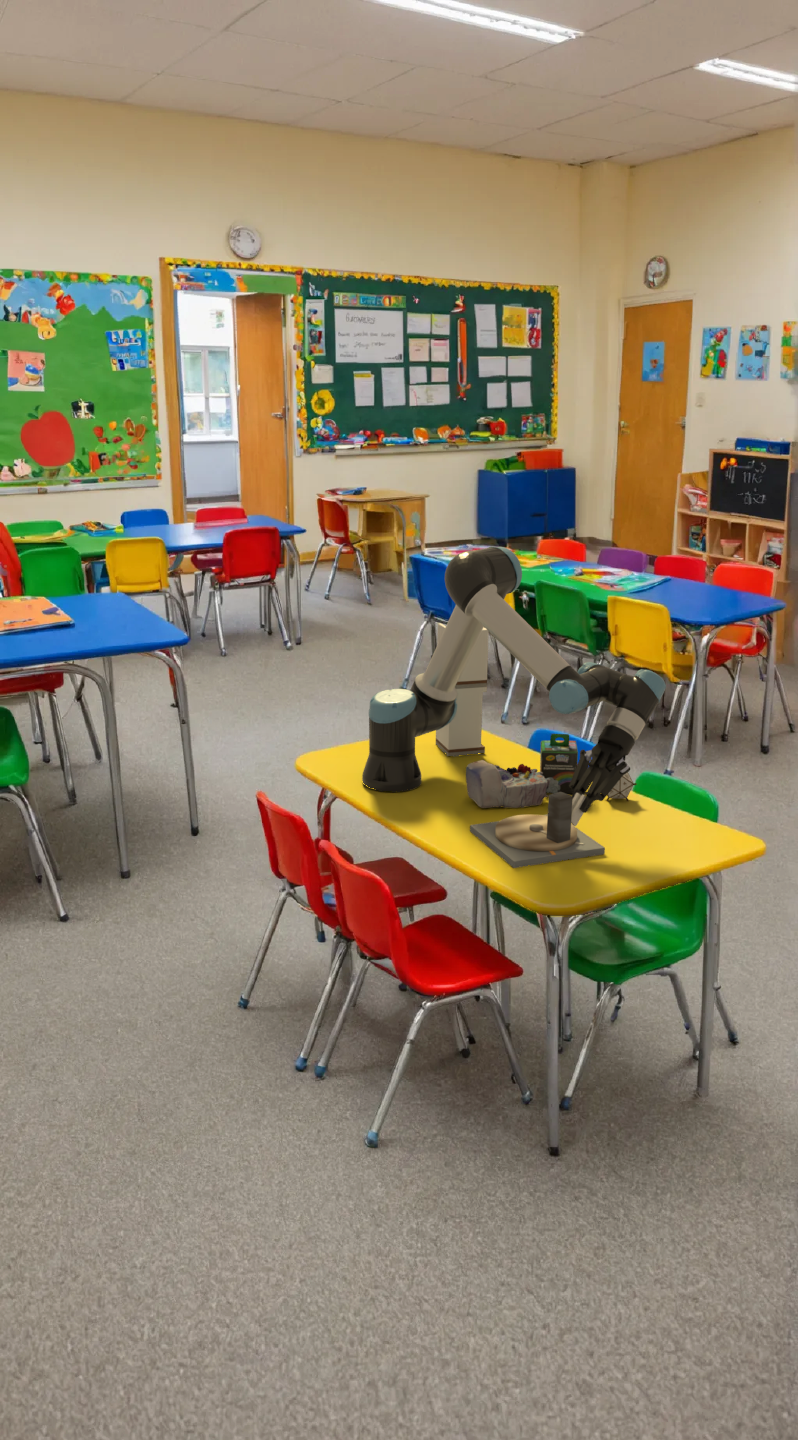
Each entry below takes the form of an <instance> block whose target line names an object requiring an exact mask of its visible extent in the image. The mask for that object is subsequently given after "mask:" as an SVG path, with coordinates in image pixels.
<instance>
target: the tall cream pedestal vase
mask: <svg viewBox="0 0 798 1440" xmlns="http://www.w3.org/2000/svg"><path fill="white" fill-rule="evenodd" d="M445 628H446V625H445V624H443V623H440V622H439V623H437V644H438V643H439V641H440V638H441V636H442V634H443V632H444V630H445ZM489 633H490V632H489V631H488V630H487V629H486V628H485V627H483V629H482V631H481V634H480V636H479V638H478V640H477V642H476V644H475V646H474V648H473V650H472V652H471V654H470V656H469V658H468V661H467V663H466V665H465V667H464V669H463V671H462V673H461V675H460V677H459V679H458V681H457V683H456V685H455V689H456V691H457V697H456V699H457V700H456V703H457V712H456V715H455V717H454V718H453V720H452V721H451V722H450V723H449V724H448V725H446V726H444V727H443V728H441V729H439V730H435V746H436V745H438V747H439V748H440V750H441V749H442V750H441V751H442V752H443V753H444V752H445V753H446V754H447V755H446V754H445V753H444V754H445V755H446V757H448V756H453V757H460V756H459V755H466V756H468V755H467V754H478V753H485V754H486V747H485V746H484V744H482V726H483V725H482V724H483V700H484V699H483V696H484V695H483V694H484V693H487V692H488V691H487V690H488V665H489V664H488V663H489V660H488V659H489V638H490V637H489V636H490V635H489ZM438 747H437V748H438ZM439 748H438V749H439ZM478 755H479V754H478Z"/></svg>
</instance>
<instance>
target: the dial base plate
mask: <svg viewBox="0 0 798 1440" xmlns="http://www.w3.org/2000/svg"><path fill="white" fill-rule="evenodd" d="M544 815H545V816H548V813H547V814H544ZM499 821H500V820H497V821H491V822H483V823H482V822H481V823H475V824H470V825H469V831H470V833H471V834H473V836H475V837H476V838H477V837H478V838H477V839H478V840H480V841H481V842H482V843H484V845H486V846H487V847H488V848H489V849H491V850H492V851H493V852H494V853H496V855H498V856H499V857H500V858H501V859H502V858H503V859H502V860H504V861H505V863H507V864H508V865H510V867H512V868H513V869H517V868H522V867H523V866H524V867H529V866H528V865H530V866H536V865H543V864H549V862H550V863H556V862H561V861H562V860H563V861H569V860H575V858H576V859H581V858H587V857H588V856H589V857H595V856H600V855H605V853H606V848H605V847H604V846H603V845H602V844H600V842H597V841H596V840H595V839H593V838H592V837H590V836H589V835H588V834H586V833H585V832H584V831H582V830H580V829H579V828H578V827H576V829H577V840H576V842H575V843H574V844H573V845H571V846H569V847H567V848H564V849H560V850H554V851H529V850H522V849H518V848H514V847H511V846H508V845H506V844H504V843H502V842H501V841H499V840H498V839H497V837H496V835H495V830H496V824H497V823H498V822H499ZM589 857H588V858H589ZM568 859H569V860H568ZM542 863H543V864H542Z"/></svg>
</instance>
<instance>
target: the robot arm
mask: <svg viewBox="0 0 798 1440" xmlns="http://www.w3.org/2000/svg"><path fill="white" fill-rule="evenodd" d="M522 578H523V568H522V566H521V563H520V560H519V558H518V557H517V555H516V554H515V553H514V552H513V551H512V550H510V549H509V548H507V547H504V546H488V547H486V548H480V549H476V550H468V551H463V552H461V553H459V554H456V555H455V556H454V557H453V558H452V559H451V560H450V561H449V563H448V564H447V566H446V569H445V572H444V583H445V588H446V591H447V593H448V595H449V597H450V599H451V600H452V601H453V602H454V604H455V606H454V608H453V610H452V613H451V614H450V617H449V618H448V621H447V624H446V625H445V626H446V628H445V630H444V632H443V634H442V636H441V638H440V641H439V643H438V642H437V645H436V647H435V650H434V651H433V654H432V656H431V658H430V660H429V663H428V665H427V666H426V670H425V672H423V673H418V674H417V676H416V677H415V679H414V681H413V684H412V686H411V687H410V689H406V688H392V689H385V690H381V691H379V692H377V693H375V694H374V695H373V696H372V697H371V699H370V700H369V709H368V726H369V727H368V737H369V739H368V741H369V742H368V745H369V746H368V747H369V749H368V750H369V751H368V756H367V759H366V762H365V766H364V768H363V771H362V776H361V777H362V778H361V779H362V781H363V783H364V784H365V785H367V786H368V787H370V788H374V789H376V790H375V791H377V790H379V791H378V792H383V791H392V792H391V793H401V792H400V791H402V792H407V791H412V790H415V789H417V788H419V787H420V786H421V785H422V772H421V769H420V766H419V765H420V764H419V763H418V759H417V756H416V738H417V737H420V736H422V735H426V734H429V733H431V732H434V731H435V732H436V730H439V729H441V728H443V727H444V726H446V725H448V724H449V723H450V722H451V721H452V720H453V718H454V717H455V715H456V712H457V703H456V700H457V699H456V697H457V691H456V689H455V685H456V683H457V681H458V679H459V677H460V675H461V673H462V671H463V669H464V667H465V665H466V663H467V661H468V658H469V656H470V654H471V652H472V650H473V648H474V646H475V644H476V642H477V640H478V638H479V636H480V634H481V631H482V629H483V627H484V628H486V629H487V630H488V631H489V633H490V634H491V635H492V636H493V637H494V638H495V640H497V641H498V642H499V643H500V644H501V645H502V646H503V647H504V648H505V649H506V650H507V651H508V653H510V654H511V655H512V656H513V657H514V658H515V659H516V660H517V661H518V662H519V663H520V664H521V665H522V666H523V667H524V668H525V670H527V672H529V674H530V675H532V677H534V678H535V679H536V680H537V681H538V682H539V683H540V684H541V685H542V686H543V687H544V688H545V689H546V690H547V691H548V693H549V694H548V700H549V702H550V704H551V707H552V708H553V710H555V711H556V712H557V713H559V714H562V715H570V714H574V713H579V712H581V711H582V710H584V709H586V708H589V707H590V706H594V705H597V704H599V703H602V702H604V703H608V704H610V705H613V706H615V709H614V711H613V712H612V714H611V715H610V717H609V719H608V720H607V722H606V724H607V725H604V728H603V729H602V731H601V732H600V734H599V736H598V738H597V743H596V744H595V745H594V746H592V748H591V749H590V750H585V749H581V750H580V752H579V760H578V761H577V767H576V769H575V772H574V775H573V777H572V780H571V782H570V785H569V787H570V788H571V789H572V790H573V791H574V793H573V795H571V796H573V799H572V817H571V824H572V825H574V826H575V827H577V825H578V824H579V822H580V820H581V819H582V816H583V815H584V814H586V813H588V811H589V810H590V807H591V806H592V805H593V802H595V801H599V802H603V801H604V799H605V798H606V797H608V796H607V795H608V793H609V792H610V791H611V790H612V788H613V787H614V786H615V785H616V784H617V782H618V781H619V780H620V779H621V777H622V776H623V775H624V774H626V773H627V772H628V773H629V772H630V770H631V767H630V766H629V765H628V764H627V762H626V756H628V755H629V754H630V752H631V750H633V747H634V745H635V744H636V741H637V740H638V738H639V737H640V734H642V731H643V729H644V728H645V726H646V725H647V723H648V720H649V719H650V717H652V714H653V713H654V711H655V709H656V707H657V706H658V704H660V702H661V699H662V697H663V695H664V693H665V691H666V688H667V685H666V682H665V680H664V679H663V677H662V676H660V675H659V674H657V673H656V672H655V671H654V672H653V671H652V670H649V669H642V668H641V669H639V670H637V672H636V673H635V674H634V675H633V676H632V675H631V674H626V673H624V672H621V671H619V670H616V669H613V668H611V667H610V668H609V667H608V666H605V665H603V664H602V663H596V662H592V661H586V662H584V663H583V664H582V666H580V667H579V669H578V670H576V669H575V668H573V667H572V666H571V664H569V662H567V660H566V659H564V658H563V657H562V655H560V654H559V653H558V652H557V651H556V650H555V648H553V647H552V646H551V645H550V644H549V643H548V642H547V641H546V640H545V639H544V637H542V636H541V635H540V634H539V633H538V632H537V630H535V629H534V628H533V627H532V626H531V624H529V623H528V622H527V621H526V620H525V619H524V618H523V617H522V616H521V615H520V614H519V613H518V612H517V611H516V610H515V609H514V608H513V607H512V606H511V605H510V604H509V603H508V602H506V600H505V598H506V596H507V595H509V594H511V593H513V592H514V591H515V590H517V589H518V588H519V586H520V585H521V582H522ZM362 781H361V782H362ZM363 783H362V784H363ZM370 788H369V789H370ZM396 791H397V792H396Z"/></svg>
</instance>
